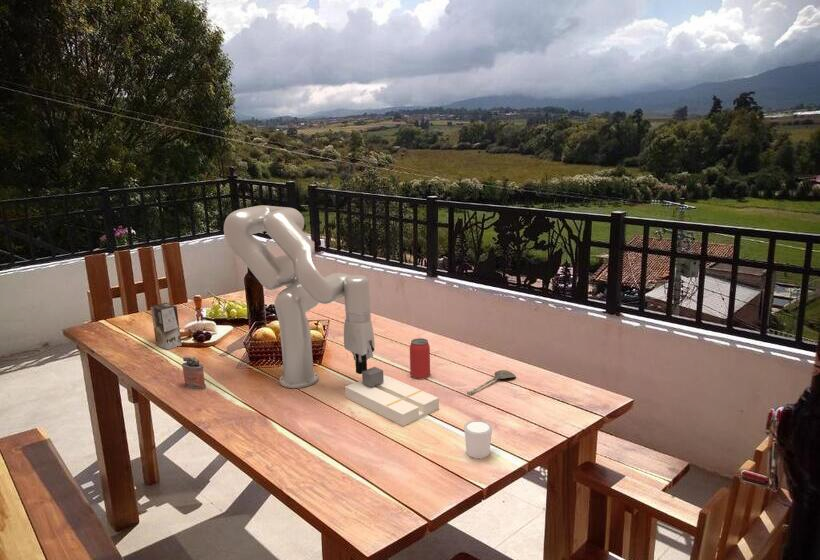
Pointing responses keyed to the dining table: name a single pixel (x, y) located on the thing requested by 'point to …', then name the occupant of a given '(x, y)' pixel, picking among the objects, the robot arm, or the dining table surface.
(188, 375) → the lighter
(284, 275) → the robot arm
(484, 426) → the white cup
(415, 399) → the slider console
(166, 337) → the coffee box
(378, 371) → the fader knob
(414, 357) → the beer can
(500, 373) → the soupspoon
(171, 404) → the dining table surface
